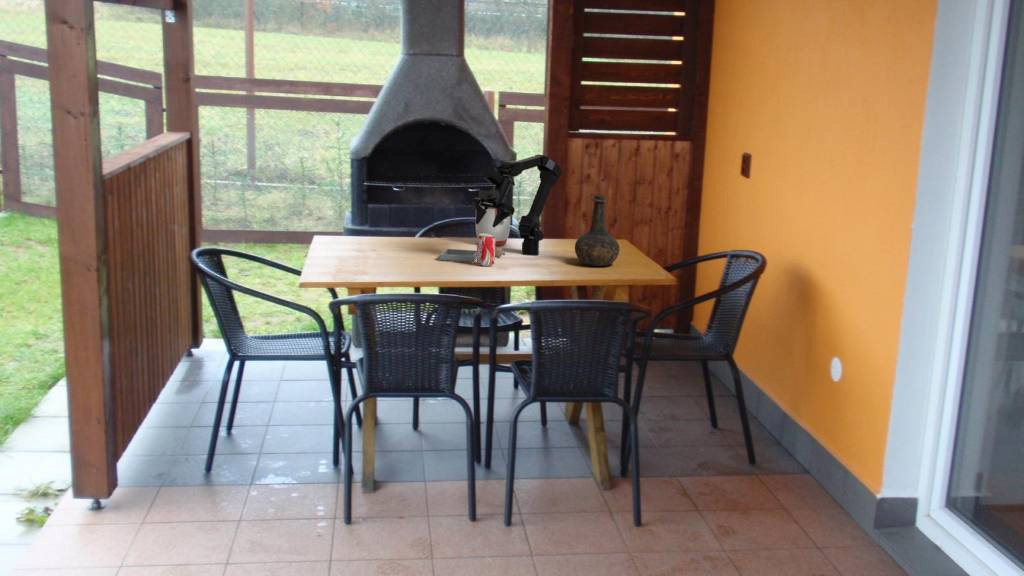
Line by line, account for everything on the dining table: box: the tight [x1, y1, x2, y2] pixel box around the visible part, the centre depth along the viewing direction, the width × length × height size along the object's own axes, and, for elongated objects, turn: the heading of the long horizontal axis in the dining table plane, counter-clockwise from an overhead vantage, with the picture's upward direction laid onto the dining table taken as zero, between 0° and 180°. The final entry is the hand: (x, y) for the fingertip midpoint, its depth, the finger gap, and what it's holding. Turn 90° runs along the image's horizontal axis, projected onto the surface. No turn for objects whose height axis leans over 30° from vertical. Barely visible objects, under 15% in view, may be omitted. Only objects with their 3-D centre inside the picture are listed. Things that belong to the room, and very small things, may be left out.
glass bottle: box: [574, 193, 620, 267], centre depth 395 cm, size 18×18×28 cm
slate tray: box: [439, 248, 477, 263], centre depth 398 cm, size 13×13×2 cm
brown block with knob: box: [495, 247, 506, 259], centre depth 408 cm, size 8×9×3 cm
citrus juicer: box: [475, 205, 512, 247], centre depth 431 cm, size 16×17×20 cm
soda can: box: [476, 233, 496, 267], centre depth 387 cm, size 7×7×12 cm
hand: (484, 225), depth 392 cm, fingers open, 9 cm apart
